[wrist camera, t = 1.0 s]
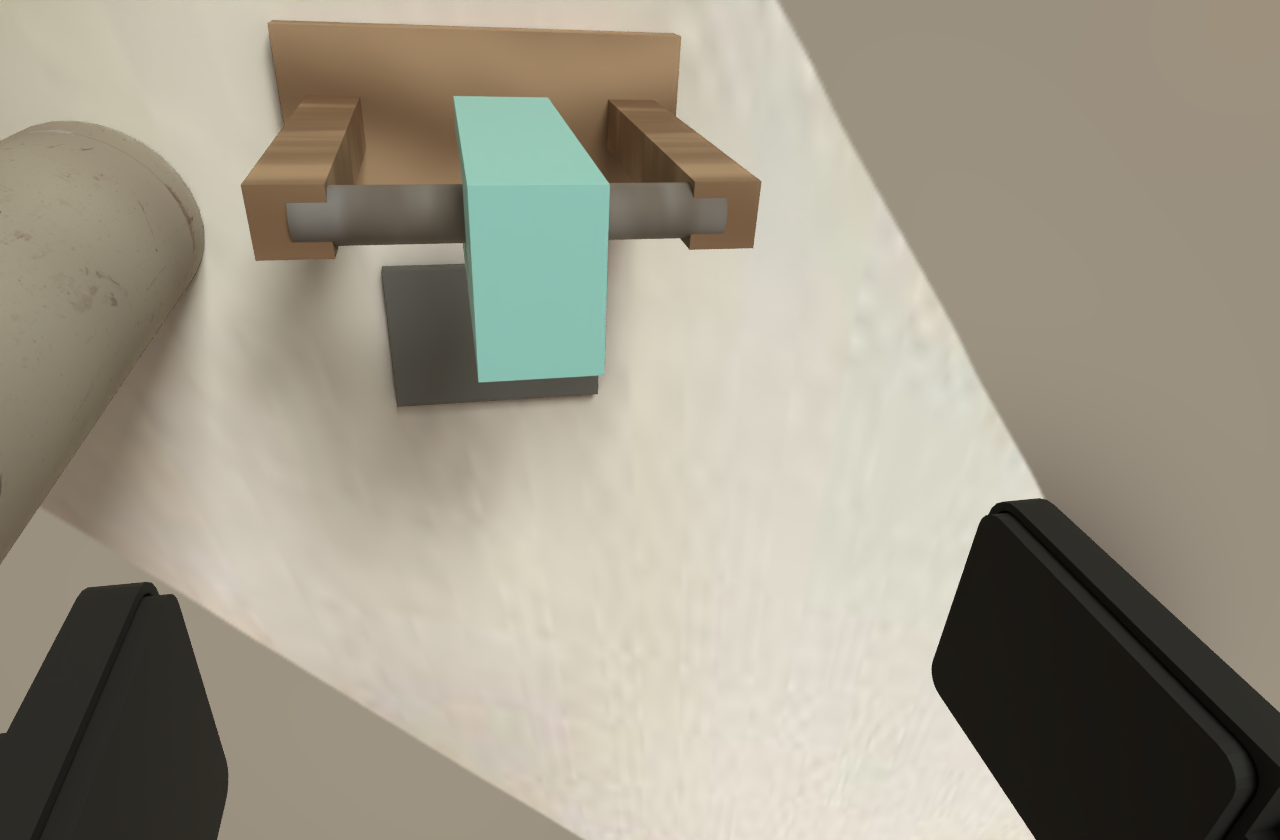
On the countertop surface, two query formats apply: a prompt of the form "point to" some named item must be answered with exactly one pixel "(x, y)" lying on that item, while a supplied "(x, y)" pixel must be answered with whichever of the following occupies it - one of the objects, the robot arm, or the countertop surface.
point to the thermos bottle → (78, 290)
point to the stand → (427, 143)
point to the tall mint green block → (532, 240)
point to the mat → (448, 343)
